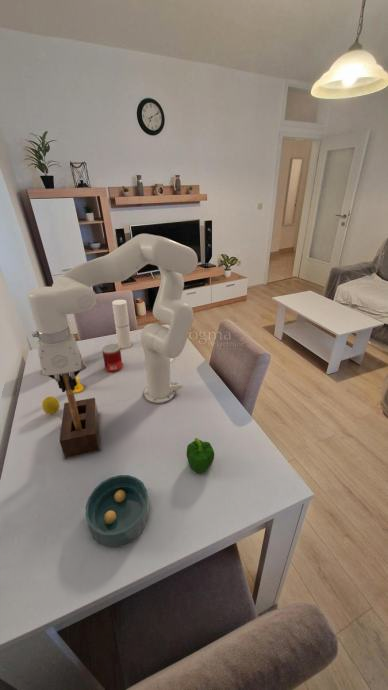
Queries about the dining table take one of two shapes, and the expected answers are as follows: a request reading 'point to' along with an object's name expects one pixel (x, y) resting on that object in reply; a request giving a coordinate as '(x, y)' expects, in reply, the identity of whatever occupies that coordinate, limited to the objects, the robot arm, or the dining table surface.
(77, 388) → the candle
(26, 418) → the dining table surface
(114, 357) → the canned food
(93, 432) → the stand
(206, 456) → the bell pepper
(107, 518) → the dough ball
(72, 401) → the stirring stick
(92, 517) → the bowl
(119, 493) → the dough ball
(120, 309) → the cylindrical container
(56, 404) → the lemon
